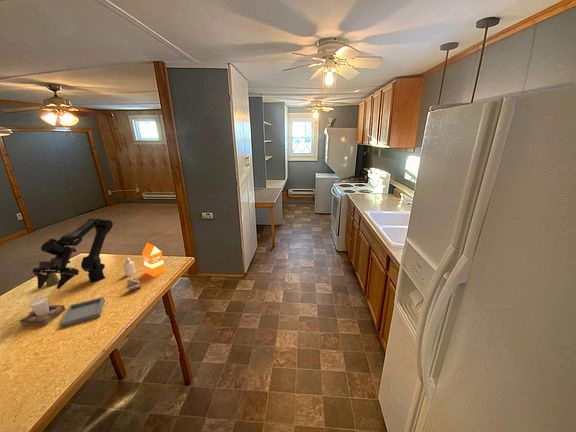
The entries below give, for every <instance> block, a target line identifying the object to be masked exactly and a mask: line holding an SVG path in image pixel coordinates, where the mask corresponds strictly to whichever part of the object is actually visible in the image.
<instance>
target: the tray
mask: <svg viewBox="0 0 576 432" xmlns="http://www.w3.org/2000/svg"><path fill="white" fill-rule="evenodd" d="M104 297H105V296H101V297H97V298H93V299H89V300H84V301H81V302H77V303H73V304H70V305H69V304H68V306H67V309H66V310H65V311H66V312H65V313H64V316H63V317H62V320H61V322H60V325H61V328H65V327H69V326H72V325H75V324H76V325H77V324H80V323H84V322H87V321H91V320H94V319H97V318H100V317H101V314H102V312H103V308H104V304H105V298H104Z"/></svg>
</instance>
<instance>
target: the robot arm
mask: <svg viewBox="0 0 576 432" xmlns="http://www.w3.org/2000/svg"><path fill="white" fill-rule="evenodd" d="M113 223H114V222H112V220H111V219H101V218H100V219H99V218H95V217H94V218H93V217H92V218H89V219H87V221H86V222H85V223H83V224H81V225H80V226H79V227H78V228H77V229H75V230H73V231H72V232H68V233H66V234H64V235H62V236H61V237H60V238H59V239H58V240H57V239H55V238H49V239H48V241H46V242H44V243H43V244H42V245H41V247H40V250H41V251H42V252H43V253H45V254H46V253H47V254H49V255H52V256H55V257H54V258H53V257H51V259H50V260H42V261H41V260H40V261H39V263H38V266H36V267H33V269H32V271H31V274H33V275H34V276H36V277H37V290H40V289H42V287H43V286H44V285H45V284H46V281H47V279H48V278H49V276H48V275H49V274H51V273H56V274H59V275H60V278H59V283H58V284H57V286H56V289H57V290H60V289H61V288H62V287H63V286H64V285H66V283H68V281H70V280H71V279H72V278H74V277H75V276H78V275H79V273H80V271H79V269H77V268H76V267H75V268H74V267H68V264H71V261H70V259H71V257H72V255H73V253H77V252H78V251H77V249H76V248H75V247H76V246H78V245H80V243H81V242H82V241H83V238H84V236H86V235H87V234H88V233H89V232H90V231H91V230H93V229H95V231H96V233H95V234H94V235H95V236H94V238H93V242H92V245H91V248H90V250H89V253H88V255H87V256H83V258H82V261H81V262H80V264H81V266H80V268H81V269H82V270H83V271H84V272H87V277H88V280H89V281H90V282H91V283H95V282H98V281H102V280H103V279H106V276H105V275H104V271H103V270H104V269H105V266H106V265H105V264H104V263H102V262H101V261H102V260H101V257H100V255H101V251H102V248H103V244H104V242H105V239H106V236H107V234H108V233H109V232H111V231H112V228H113V226H114V224H113ZM47 268H48V269H47Z"/></svg>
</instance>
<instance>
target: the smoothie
mask: <svg viewBox="0 0 576 432" xmlns="http://www.w3.org/2000/svg"><path fill="white" fill-rule="evenodd" d="M36 295H37V298H35V299H33V300H31V301H30V302H29V303H28V307H29V308H31V309H32V310H33V311H34V312H35V314H36V315H37V318H44V317H45V316H47V315H48V313H49V305H50V304H49V298H48V296H41V297H40V295H39V292H38V291H36Z"/></svg>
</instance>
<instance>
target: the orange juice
mask: <svg viewBox="0 0 576 432" xmlns="http://www.w3.org/2000/svg"><path fill="white" fill-rule="evenodd" d="M142 257H143V264H144V265H143V266H144V268H145V273H146V274H147V275H150V276H151V277H154V278H155V277H157V276H159V275H161V274H164V273H165V271H166V269H165V263H164V258H163V252H162V250H160V249H158V247H156V246H155V245H153V244H151V243H149V242H147V243H146V244H145V247H144V248H143V251H142Z"/></svg>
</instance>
